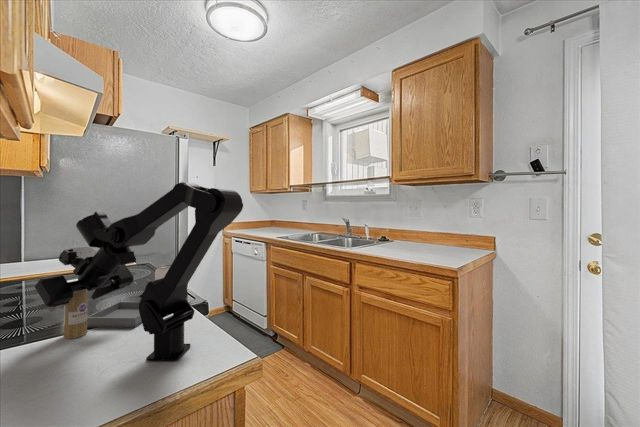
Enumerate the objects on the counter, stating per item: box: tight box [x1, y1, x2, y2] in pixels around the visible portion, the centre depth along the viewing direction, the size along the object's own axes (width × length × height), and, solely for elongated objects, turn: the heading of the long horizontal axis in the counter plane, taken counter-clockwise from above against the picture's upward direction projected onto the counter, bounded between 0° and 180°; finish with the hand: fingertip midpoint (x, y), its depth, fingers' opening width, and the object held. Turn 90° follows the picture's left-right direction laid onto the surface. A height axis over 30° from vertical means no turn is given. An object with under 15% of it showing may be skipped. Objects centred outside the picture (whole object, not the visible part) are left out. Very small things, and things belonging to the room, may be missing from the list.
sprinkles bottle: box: [63, 278, 89, 340], centre depth 69 cm, size 5×5×14 cm
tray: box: [87, 301, 143, 329], centre depth 80 cm, size 13×13×2 cm
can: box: [154, 264, 171, 280], centre depth 94 cm, size 6×6×12 cm
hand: (72, 303), depth 69 cm, fingers open, 9 cm apart
